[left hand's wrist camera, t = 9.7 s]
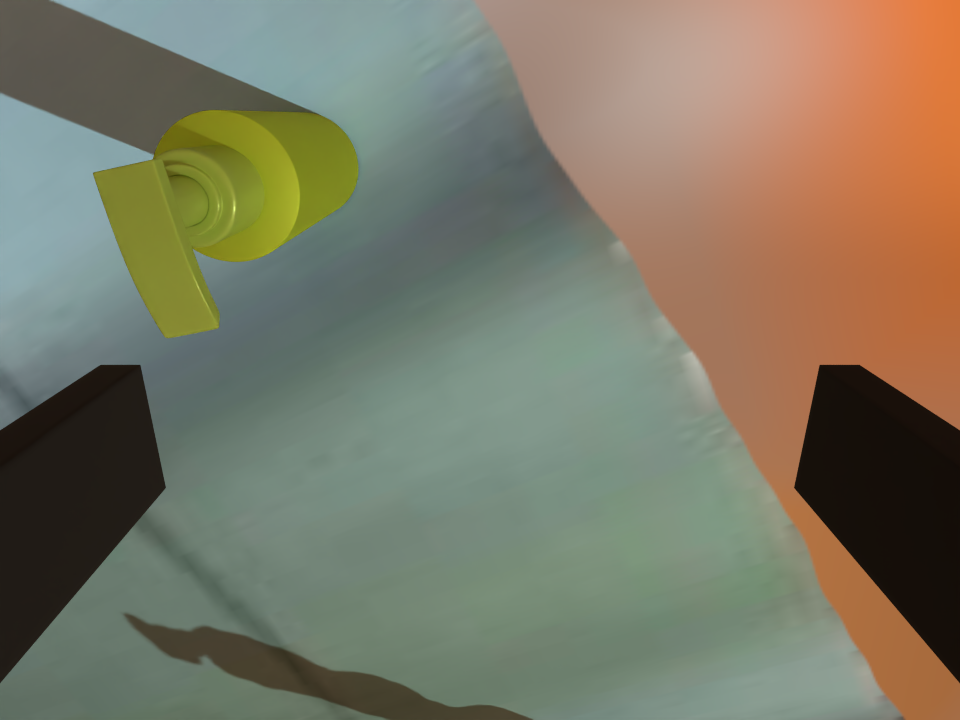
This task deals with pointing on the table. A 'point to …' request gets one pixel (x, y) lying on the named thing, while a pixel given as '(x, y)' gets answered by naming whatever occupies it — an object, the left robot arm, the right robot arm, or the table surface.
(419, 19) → the table surface
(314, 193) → the soap dispenser
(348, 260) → the table surface
